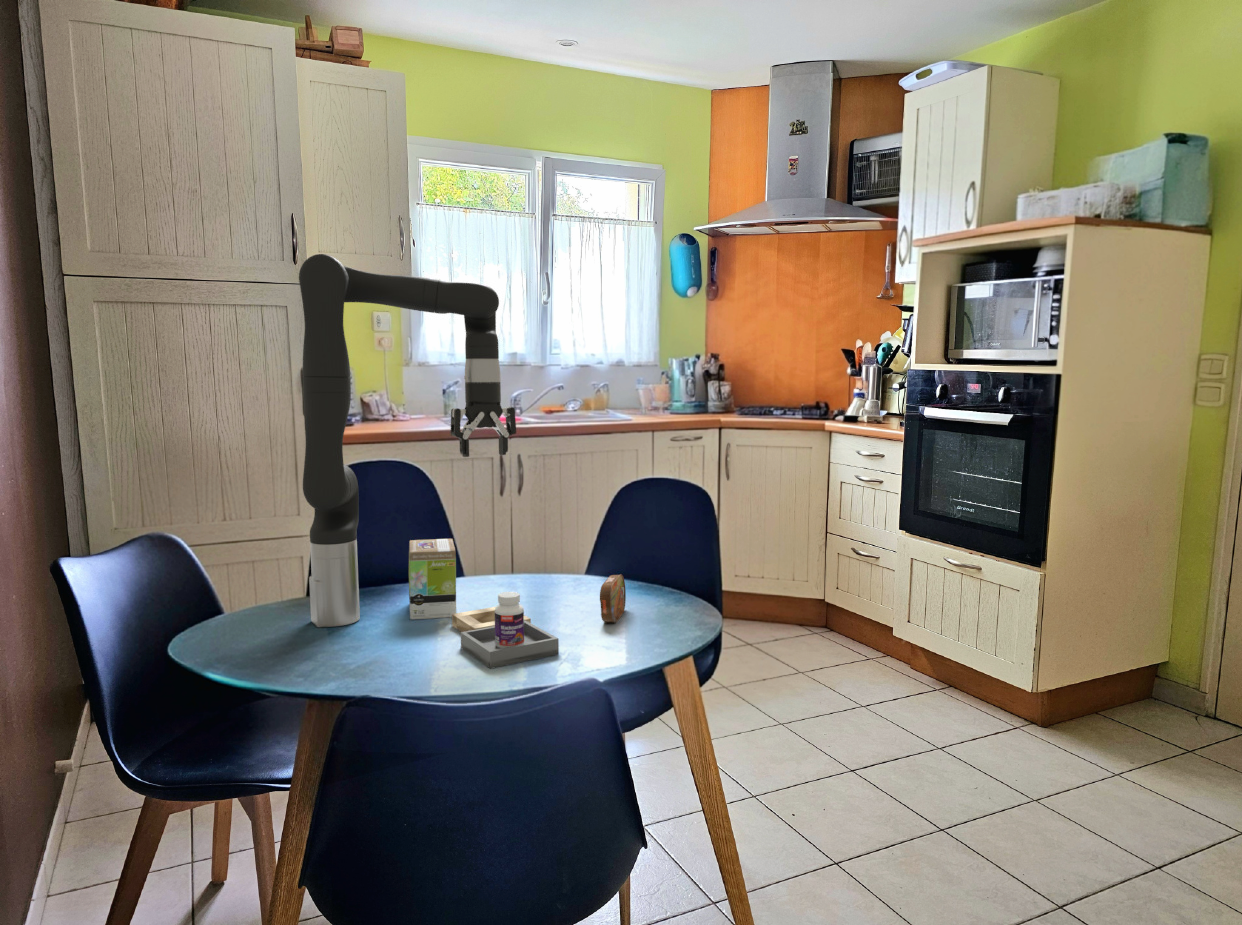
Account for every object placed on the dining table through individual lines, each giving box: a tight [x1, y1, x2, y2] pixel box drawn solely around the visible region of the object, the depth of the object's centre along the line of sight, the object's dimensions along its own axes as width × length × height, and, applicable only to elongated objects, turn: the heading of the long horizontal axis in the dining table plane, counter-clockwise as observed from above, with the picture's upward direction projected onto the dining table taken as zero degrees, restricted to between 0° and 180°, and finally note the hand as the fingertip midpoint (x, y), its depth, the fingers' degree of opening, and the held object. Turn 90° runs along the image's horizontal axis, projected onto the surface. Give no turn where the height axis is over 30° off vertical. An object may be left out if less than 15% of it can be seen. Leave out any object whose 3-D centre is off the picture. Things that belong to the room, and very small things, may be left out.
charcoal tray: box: [460, 621, 560, 670], centre depth 153 cm, size 14×14×3 cm
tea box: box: [408, 538, 457, 620], centre depth 181 cm, size 15×10×15 cm, turn 14°
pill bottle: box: [495, 591, 525, 648], centre depth 153 cm, size 5×5×10 cm
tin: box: [599, 574, 627, 624], centre depth 175 cm, size 15×3×8 cm, turn 168°
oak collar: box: [451, 606, 532, 633], centre depth 167 cm, size 12×12×2 cm
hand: (484, 455), depth 178 cm, fingers open, 8 cm apart
